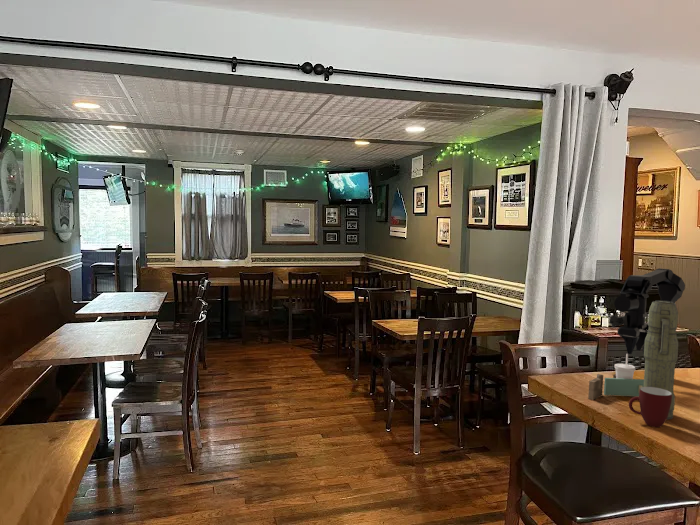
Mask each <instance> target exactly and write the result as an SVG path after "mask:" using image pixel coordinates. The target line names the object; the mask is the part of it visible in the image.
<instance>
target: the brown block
mask: <svg viewBox="0 0 700 525" xmlns="http://www.w3.org/2000/svg"><path fill="white" fill-rule="evenodd" d="M612 376H613V377H612V378H616V373H614V374H613V375H612ZM603 391H604V374H600V373H598V374H596V377H595V378H593V379H591V380H589V381H588V400H591V401H594V400H596V399H598V398H599V397H602V396H603Z"/></svg>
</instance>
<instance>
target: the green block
mask: <svg viewBox="0 0 700 525" xmlns="http://www.w3.org/2000/svg"><path fill="white" fill-rule="evenodd" d="M643 386H644V378H643V379H642V378H633V379H623V378H613V377H604V381H603V394H604V396H620V397H639V391H640V388H641V387H643Z"/></svg>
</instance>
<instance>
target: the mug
mask: <svg viewBox="0 0 700 525" xmlns="http://www.w3.org/2000/svg"><path fill="white" fill-rule="evenodd" d="M636 401H638V402H639V409H640V411H638V410H637V409H634V406H633V404H634V402H636ZM671 402H672V393H671V392H669V391H667V390H664V389H660V388H655V387H641V388H640V391H639V397H638V396H631V398H630V399H629V401H628V408H629V410H630V411H631V412H632V413H634V414H636V415H640V416H641V417H642V420H643V422H644V423H645V424H646V425H647V426H650V427H652V428H653V427H654V428H660V427H662V426H663V425H664V424H665V422H666V421H667V420H668V419H667V417H668V413H669V410H670V406H671Z"/></svg>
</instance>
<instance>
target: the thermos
mask: <svg viewBox="0 0 700 525" xmlns="http://www.w3.org/2000/svg"><path fill="white" fill-rule="evenodd" d="M678 318H679V312H678V308H677V304H676V302H675V303H673V302H671V301H661V299H660V300H659V299H658V300H655V301H652V302H651V305H650V306H649V310H648V318H647V320H648V321H647V323H648V326H649V329H648V330H647V336H646V338H645V344H644V345H643V346H644V357H645V360H644V373H643V374H644V375H643V376H644V377H643V379H644V386H643V387H655V388H660V389H664V390H667V391H669V392H671V393H672V402H671V406H670V410H669V413H668V417H667V419H666V420H672V419H674V410H675V404H676V403H675V402H676V396H675V393H674V387H675V386H674V385H675V373H676V372H675V371H676V370H675V369H676V363H677V361H678V353H679V340H678V338H677V337H678V336H677V334H678V333H677V329H678ZM644 357H643V358H644Z"/></svg>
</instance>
